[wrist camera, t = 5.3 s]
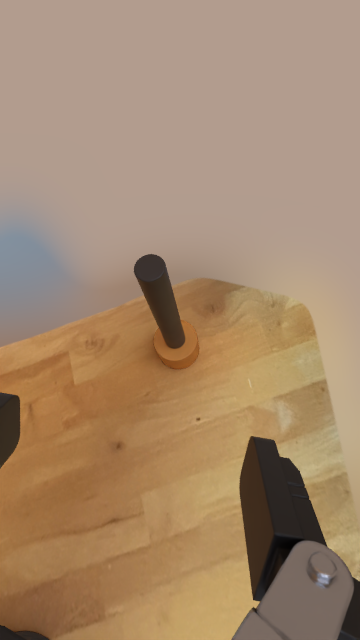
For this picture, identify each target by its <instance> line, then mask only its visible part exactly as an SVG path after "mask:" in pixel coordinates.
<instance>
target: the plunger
mask: <svg viewBox="0 0 360 640" xmlns="http://www.w3.org/2000/svg"><path fill="white" fill-rule="evenodd" d="M134 273H135V275H136V278H137V280H138V282H139V285H140V286H141V289H142V291H143V293H144V296H145V298H146V300H147V302H148V305H149V307H150V309H151V311H152V313H153V316H154V318H155V320H156V322H157V325H158V327H159V328H158V329H157V331H156V332H155V335H154V347H155V349H156V351H157V353H158V355H159V357H160V358H161V360H162V362H163V363H164V364H165V365H167V366H168V367H170V368H173V369H183V368H186V367H188V366H190V365H191V364H192V363H194V361H195V360H196V359H197V357H198V354H199V344H198V338H197V333H196V331H195V329H194V328H193V326H192V325H191V324H189V323H188V322H186V321H184V320H180V316H179V313H178V309H177V305H176V302H175V298H174V294H173V290H172V287H171V283H170V280H169V276H168V272H167V268H166V265H165V262H164V260H163V259H162V258H161V257H159V256H157V255H153V254H149V255H145V256H143V257H141V258H140V259H139V260H138V261H137V262H136V264H135V266H134Z"/></svg>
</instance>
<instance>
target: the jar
mask: <svg viewBox="0 0 360 640" xmlns="http://www.w3.org/2000/svg"><path fill="white" fill-rule="evenodd" d="M15 633H16V634H18V635H20V636H21V637H23V638H24V639H26V640H49V639H48V638H46V637H44V636H43V635H41V634H38V633H35V632H30V631H19V632H15Z"/></svg>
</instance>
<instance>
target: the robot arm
mask: <svg viewBox="0 0 360 640" xmlns="http://www.w3.org/2000/svg"><path fill="white" fill-rule="evenodd" d="M19 438H20V399H19V397H18V396H17V395H11V394H6V393H0V468H1V467H2V465H3V464H4V463H5V462H6V461H7V459H8V458H9V457H10V456H11V454H12V453H13V452H14V450H15V448H16V446H17V444H18V441H19ZM240 499H241V507H242V515H243V523H244V531H245V539H246V547H247V555H248V563H249V571H250V579H251V587H252V595H253V600H255V601H261V602H260V603H259V605H258V606H257V608H256V609H255V608H254V607H253V608H252V609H251V610H250V611H249V613H248V614H247V615H246V617H245V619H244V620H243V622H242V623H241V625H240V627H239V628H238V630H237V631H236V633H235V635H234V636H233V638H232V640H360V582H359V581H358V580H356V579H355V578H353V577H352V575H351V573H350V571H349V569H348V567H347V566H346V564H345V563H344V562H343V560H342V559H341V558H340V557H339V556H338V555H337V554H336V553H335V552H334V551H332V550H331V549H329V548H328V547H327V545H326V542H325V539H324V536H323V534H322V531H321V528H320V526H319V523H318V520H317V517H316V515H315V512H314V509H313V506H312V504H311V501H310V500H309V496H308V493H307V490H306V488H305V485H304V482H303V479H302V477H301V474H300V471H299V470H298V469H297V468H296V466H295V465H294V464H293V463H292V462H291V460H290V459H289V458H283V457H280V456H279V453H278V450H277V446H276V443H275V441H274V440H271V439H266V438H260V437H254V436H251V437H250V440H249V443H248V447H247V451H246V455H245V459H244V462H243V466H242V470H241V475H240ZM0 640H26V639H24V638H23V637H21V636H20V635H18V634H16V633H15V632H13V631H11V630H10V629H8V628H6V627H5V626H1V625H0Z"/></svg>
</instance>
